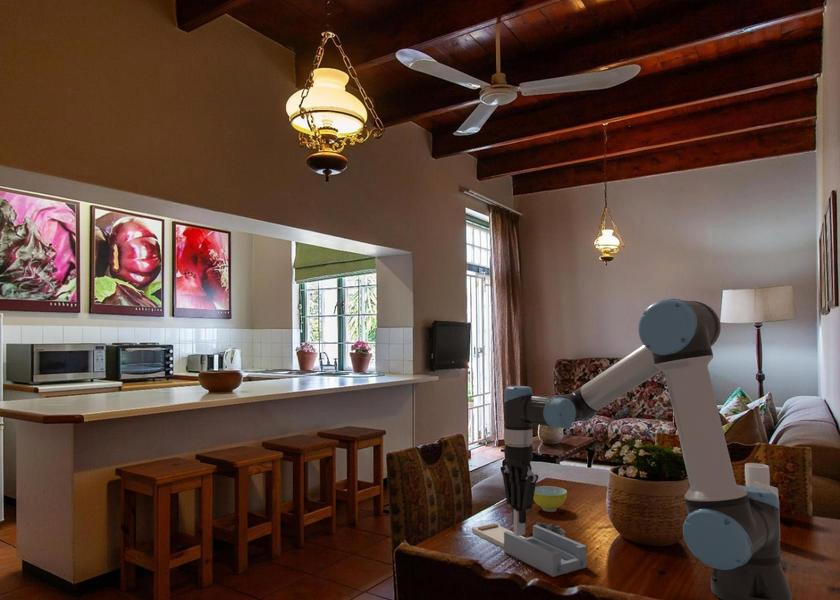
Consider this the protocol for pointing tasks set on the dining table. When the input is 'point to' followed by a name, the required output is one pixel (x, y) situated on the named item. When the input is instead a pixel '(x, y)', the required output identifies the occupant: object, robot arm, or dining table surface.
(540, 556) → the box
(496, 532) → the lid
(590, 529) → the dining table surface
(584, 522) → the dining table surface
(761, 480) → the drinking glass
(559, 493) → the bowl
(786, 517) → the dining table surface
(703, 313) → the robot arm
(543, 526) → the egg carton
